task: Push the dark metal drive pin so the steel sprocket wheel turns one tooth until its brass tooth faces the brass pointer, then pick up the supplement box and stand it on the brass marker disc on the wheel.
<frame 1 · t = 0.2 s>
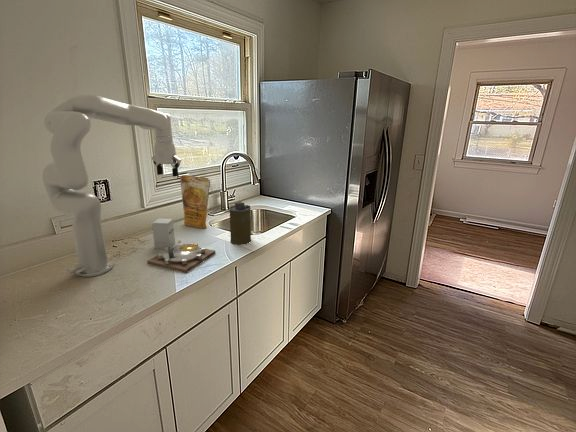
hand: (167, 175, 152), 31 cm above the worktop, tool pointing down, fingers open, 9 cm apart
canister: (241, 241, 154), on the worktop
supplement box: (165, 246, 146), on the worktop
walnut plinth: (182, 258, 133), on the worktop
pancake mix bag: (196, 225, 174), on the worktop
sprocket wheel: (181, 248, 132), point 5 cm above the worktop, hinge at 0.0°
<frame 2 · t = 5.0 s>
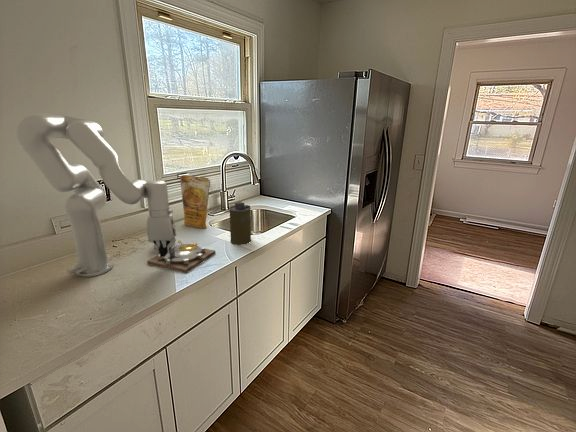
hand: (163, 255, 125), 5 cm above the worktop, tool pointing down, fingers closed
sprocket wheel: (181, 248, 132), point 5 cm above the worktop, hinge at 4.2°, touching gripper
everything else where it was.
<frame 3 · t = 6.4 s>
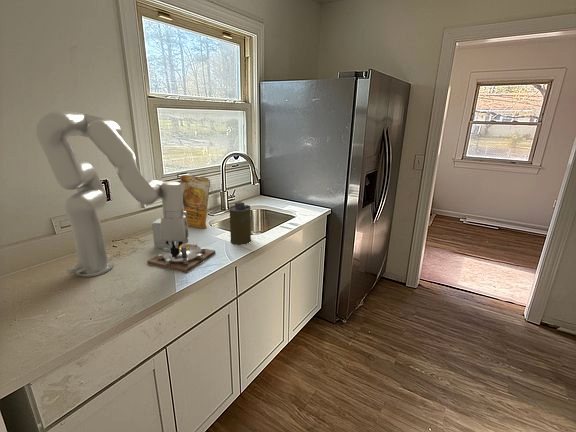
hand: (175, 255, 126), 4 cm above the worktop, tool pointing down, fingers closed
sprocket wheel: (181, 248, 132), point 5 cm above the worktop, hinge at 47.8°, touching gripper
everything else where it was.
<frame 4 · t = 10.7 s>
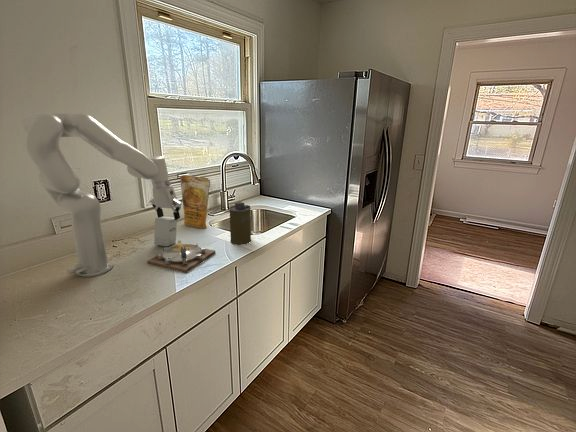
hand: (169, 218, 146), 13 cm above the worktop, tool pointing down, fingers open, 9 cm apart
supplement box: (165, 244, 147), point 1 cm above the worktop, touching gripper
sprocket wheel: (181, 248, 132), point 5 cm above the worktop, hinge at 46.0°
everything else where it was.
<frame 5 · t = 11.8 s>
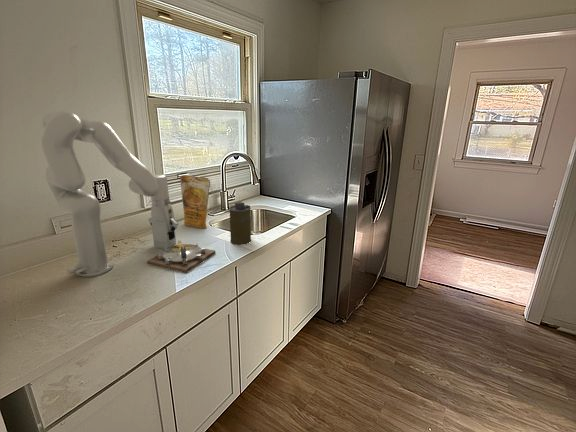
hand: (164, 237, 145), 4 cm above the worktop, tool pointing down, fingers closed on supplement box, 8 cm apart
supplement box: (165, 246, 146), on the worktop, touching gripper
everything else where it was.
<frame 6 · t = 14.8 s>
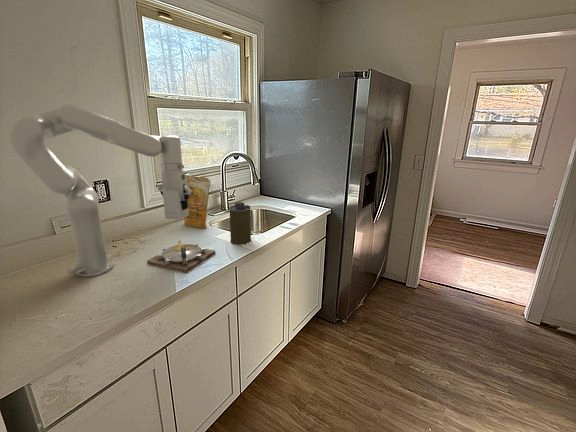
hand: (176, 207, 130), 22 cm above the worktop, tool pointing down, fingers closed on supplement box, 8 cm apart
supplement box: (177, 217, 132), point 18 cm above the worktop, touching gripper
everything else where it was.
when the fingers open (9 cm above the worktop, at t = 18.0 s): supplement box stays where it is, resting on sprocket wheel.
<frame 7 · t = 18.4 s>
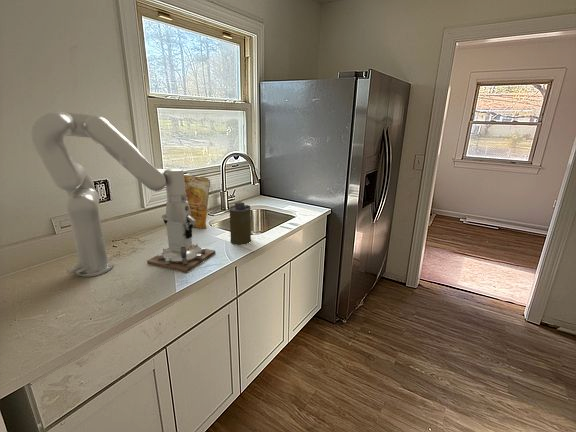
hand: (180, 236, 134), 9 cm above the worktop, tool pointing down, fingers open, 9 cm apart
supplement box: (180, 248, 135), point 3 cm above the worktop, touching sprocket wheel
sprocket wheel: (181, 248, 132), point 5 cm above the worktop, hinge at 46.0°, touching supplement box
everything else where it was.
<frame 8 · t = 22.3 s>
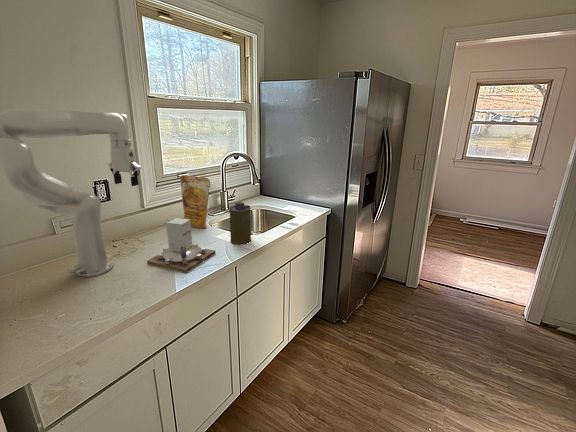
hand: (126, 184, 133), 30 cm above the worktop, tool pointing down, fingers open, 9 cm apart
nothing on the worktop moved.
at the end: sprocket wheel at +46° (first picture: +0°); supplement box 0.3 cm from the target spot, point 3.4 cm above the worktop; supplement box tilted 0° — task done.
